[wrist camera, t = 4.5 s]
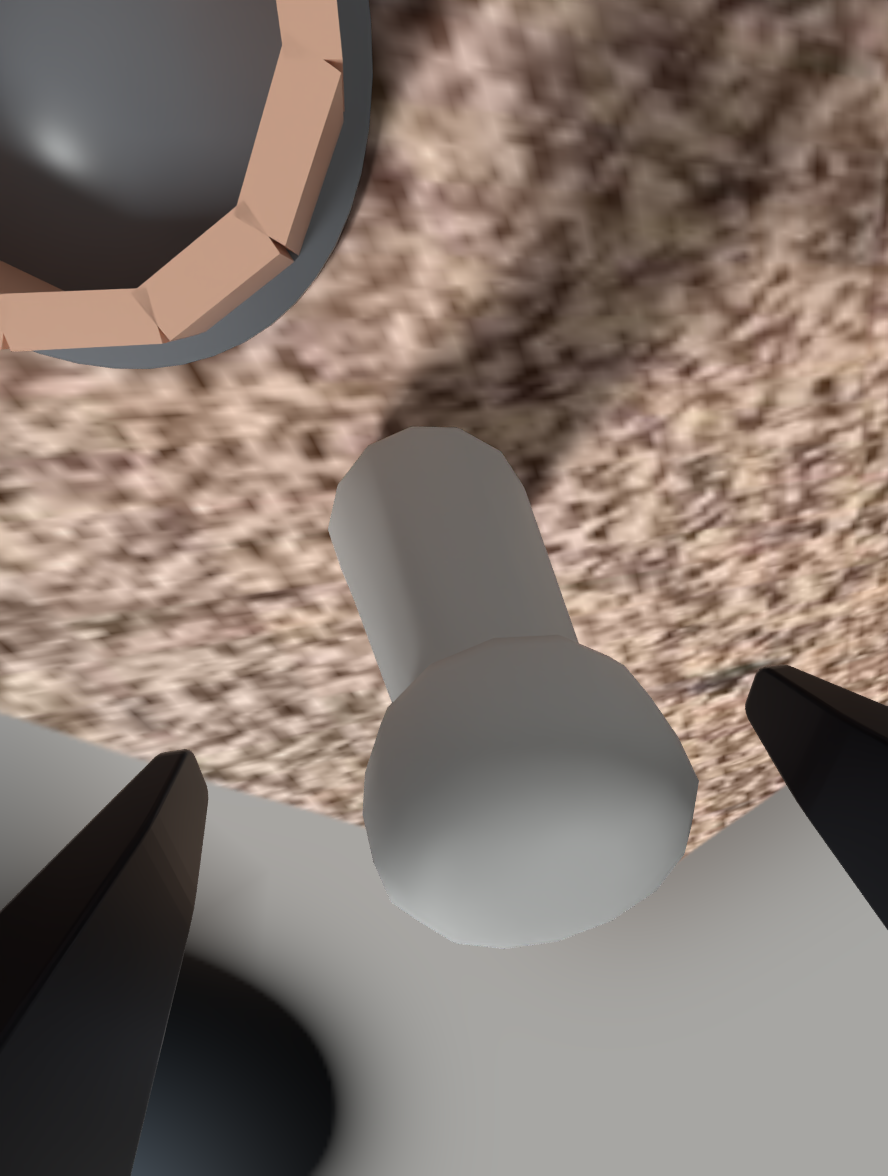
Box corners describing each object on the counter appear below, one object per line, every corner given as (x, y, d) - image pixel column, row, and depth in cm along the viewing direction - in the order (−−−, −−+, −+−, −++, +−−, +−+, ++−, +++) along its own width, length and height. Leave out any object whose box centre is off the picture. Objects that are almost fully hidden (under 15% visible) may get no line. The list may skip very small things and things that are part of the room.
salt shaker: (379, 600, 19) (420, 1052, 8) (298, 458, 16) (167, 856, 5) (527, 535, 18) (800, 909, 7) (472, 377, 15) (791, 597, 4)
